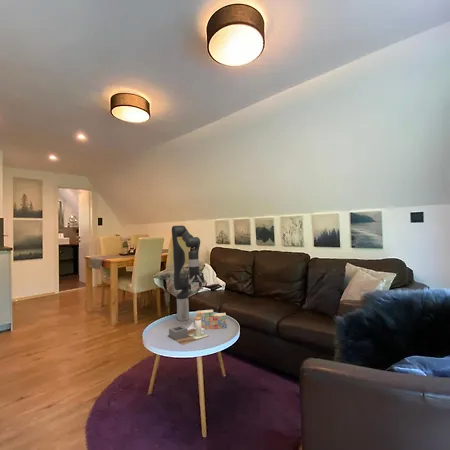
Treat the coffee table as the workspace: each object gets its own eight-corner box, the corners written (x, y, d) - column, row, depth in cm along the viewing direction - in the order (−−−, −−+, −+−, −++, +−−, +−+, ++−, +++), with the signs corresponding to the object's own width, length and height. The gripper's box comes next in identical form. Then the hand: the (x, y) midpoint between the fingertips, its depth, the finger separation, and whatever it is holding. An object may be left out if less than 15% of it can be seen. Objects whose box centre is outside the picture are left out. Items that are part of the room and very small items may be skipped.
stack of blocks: (226, 325, 206) (225, 308, 206) (226, 328, 200) (225, 311, 200) (197, 327, 205) (196, 310, 205) (196, 330, 199) (195, 313, 199)
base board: (167, 338, 186) (167, 335, 186) (193, 330, 199) (193, 327, 199) (182, 347, 171) (182, 344, 171) (209, 338, 183) (209, 335, 183)
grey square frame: (169, 336, 186) (168, 328, 186) (181, 332, 191) (180, 325, 191) (175, 340, 179) (175, 332, 179) (187, 336, 184) (187, 328, 184)
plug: (194, 335, 184) (193, 317, 185) (199, 333, 187) (198, 315, 187) (197, 336, 181) (196, 318, 181) (203, 335, 184) (202, 316, 184)
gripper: (199, 263, 205) (200, 286, 204) (182, 266, 196) (183, 289, 196) (205, 264, 199) (206, 287, 198) (187, 267, 190) (188, 291, 190)
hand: (195, 288), depth 197 cm, fingers open, 8 cm apart
